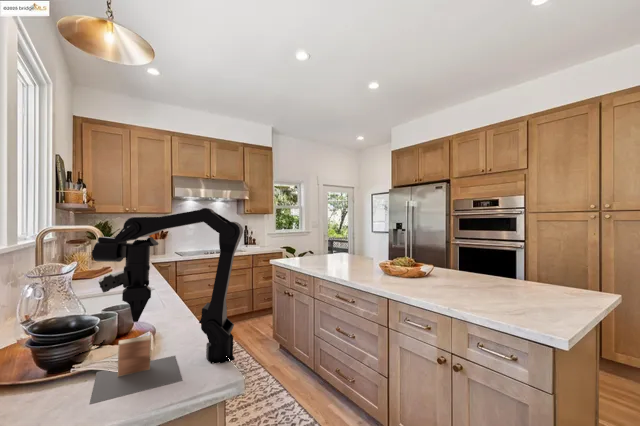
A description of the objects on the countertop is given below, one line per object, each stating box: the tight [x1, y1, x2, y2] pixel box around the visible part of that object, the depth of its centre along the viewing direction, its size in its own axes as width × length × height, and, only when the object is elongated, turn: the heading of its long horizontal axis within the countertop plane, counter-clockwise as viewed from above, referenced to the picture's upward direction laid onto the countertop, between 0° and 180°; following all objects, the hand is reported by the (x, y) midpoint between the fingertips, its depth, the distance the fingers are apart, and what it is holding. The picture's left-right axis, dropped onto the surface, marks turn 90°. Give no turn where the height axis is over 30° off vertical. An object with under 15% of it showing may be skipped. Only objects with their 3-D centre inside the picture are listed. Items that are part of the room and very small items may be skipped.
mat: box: [89, 355, 183, 405], centre depth 73 cm, size 18×15×1 cm
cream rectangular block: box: [117, 335, 152, 377], centre depth 75 cm, size 7×3×8 cm, turn 123°
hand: (135, 318), depth 81 cm, fingers open, 6 cm apart
